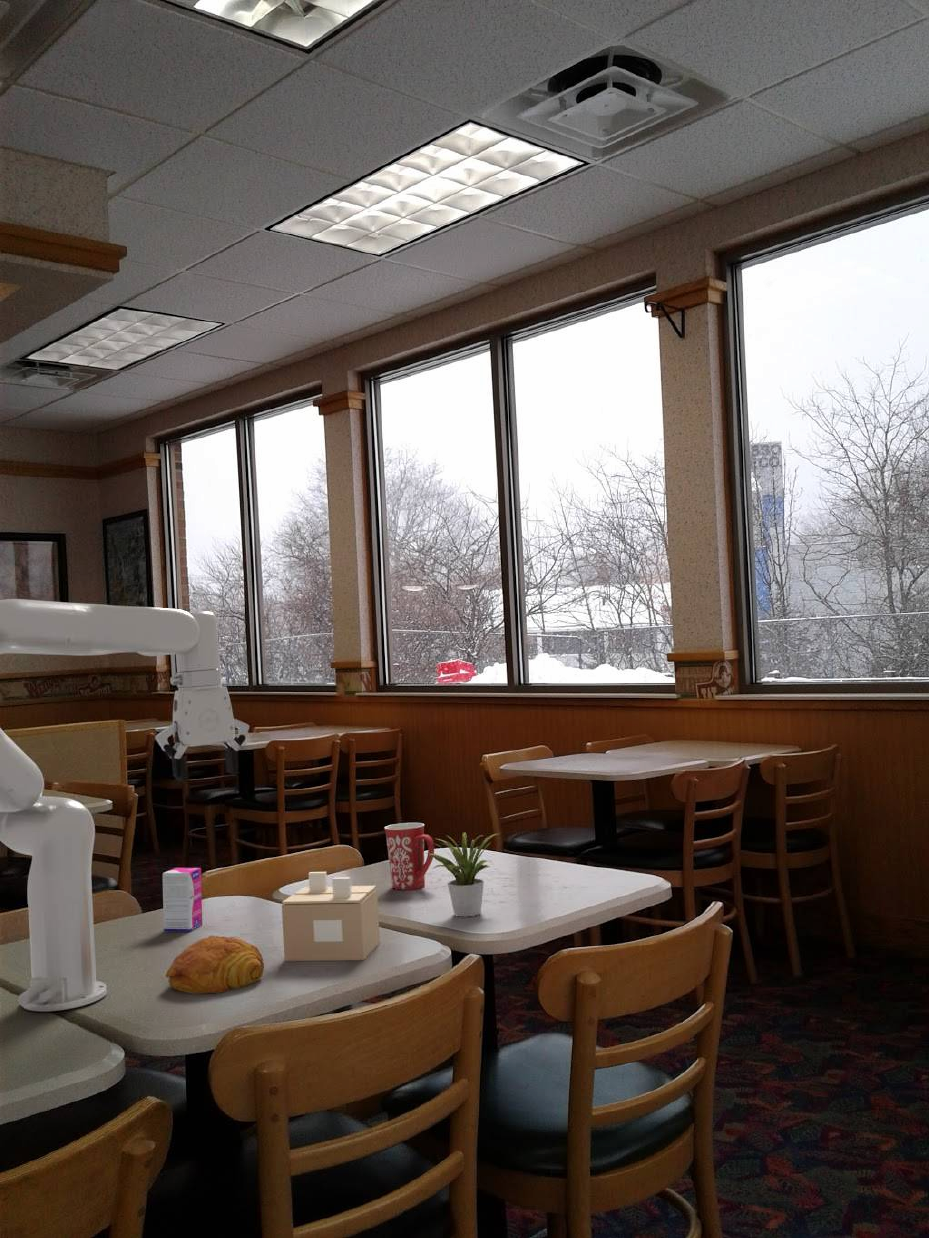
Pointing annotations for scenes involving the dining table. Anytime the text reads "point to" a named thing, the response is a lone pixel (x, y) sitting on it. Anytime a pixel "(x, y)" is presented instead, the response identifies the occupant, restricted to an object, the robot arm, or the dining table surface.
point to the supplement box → (182, 899)
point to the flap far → (320, 887)
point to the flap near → (339, 894)
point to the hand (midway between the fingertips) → (206, 776)
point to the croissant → (216, 966)
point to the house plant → (465, 877)
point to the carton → (331, 930)
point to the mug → (408, 854)
